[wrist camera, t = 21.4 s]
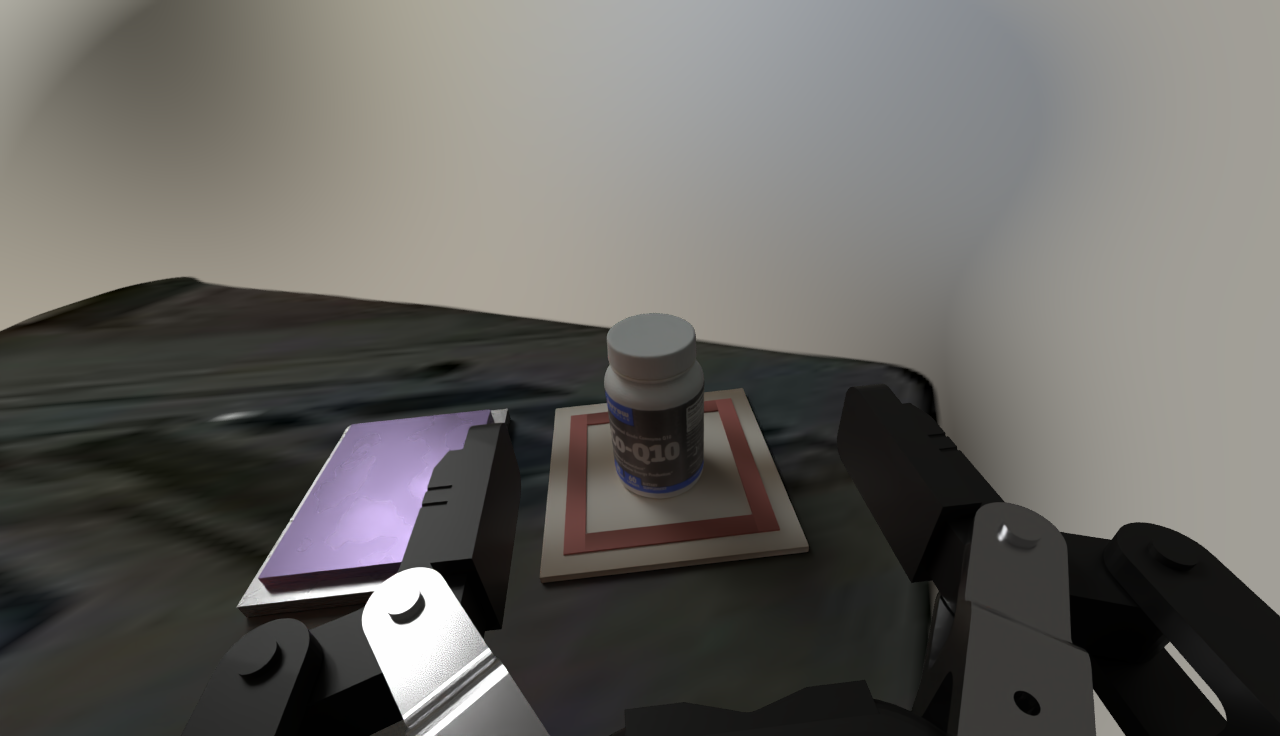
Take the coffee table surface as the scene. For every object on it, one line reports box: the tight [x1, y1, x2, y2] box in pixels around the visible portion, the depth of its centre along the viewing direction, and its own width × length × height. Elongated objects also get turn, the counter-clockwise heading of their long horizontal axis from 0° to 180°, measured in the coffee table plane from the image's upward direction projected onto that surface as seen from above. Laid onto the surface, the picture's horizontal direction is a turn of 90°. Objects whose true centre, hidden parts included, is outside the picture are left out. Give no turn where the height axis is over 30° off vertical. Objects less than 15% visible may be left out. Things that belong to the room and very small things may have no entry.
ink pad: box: [237, 409, 511, 617], centre depth 27 cm, size 12×10×2 cm
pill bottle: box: [604, 313, 704, 499], centre depth 25 cm, size 5×5×8 cm
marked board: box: [540, 388, 809, 583], centre depth 28 cm, size 12×12×1 cm
